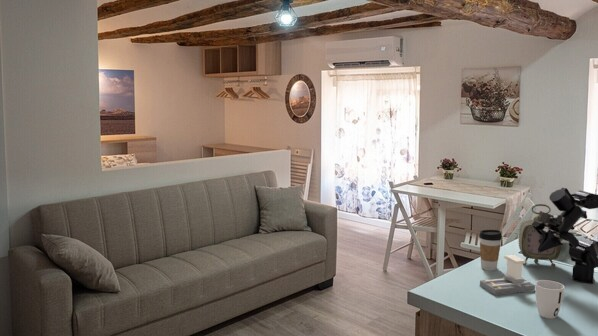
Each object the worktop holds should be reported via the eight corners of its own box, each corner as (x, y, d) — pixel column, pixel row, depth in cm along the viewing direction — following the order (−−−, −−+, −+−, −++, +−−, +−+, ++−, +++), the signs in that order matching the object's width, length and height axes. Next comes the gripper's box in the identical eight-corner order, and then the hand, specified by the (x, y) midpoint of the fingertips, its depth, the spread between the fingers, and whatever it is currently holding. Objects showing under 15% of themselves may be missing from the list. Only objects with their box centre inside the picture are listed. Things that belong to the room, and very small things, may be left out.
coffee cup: (501, 272, 203) (504, 234, 201) (479, 270, 204) (480, 233, 202) (498, 264, 211) (500, 228, 209) (476, 263, 213) (478, 227, 210)
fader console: (518, 281, 193) (518, 274, 192) (534, 290, 184) (535, 283, 184) (479, 285, 189) (480, 278, 189) (494, 295, 180) (495, 287, 180)
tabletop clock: (520, 266, 209) (523, 205, 205) (516, 259, 217) (519, 200, 214) (559, 269, 205) (564, 207, 202) (553, 262, 214) (558, 202, 210)
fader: (512, 276, 190) (513, 254, 189) (524, 282, 184) (525, 260, 183) (502, 276, 189) (503, 255, 188) (514, 283, 183) (516, 261, 182)
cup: (560, 322, 159) (562, 291, 157) (531, 316, 163) (533, 286, 162) (563, 313, 166) (565, 283, 164) (535, 307, 170) (537, 278, 168)
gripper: (537, 199, 195) (509, 230, 194) (574, 210, 177) (544, 244, 176) (553, 218, 198) (526, 248, 197) (592, 231, 180) (562, 265, 179)
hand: (539, 251), depth 188 cm, fingers closed
